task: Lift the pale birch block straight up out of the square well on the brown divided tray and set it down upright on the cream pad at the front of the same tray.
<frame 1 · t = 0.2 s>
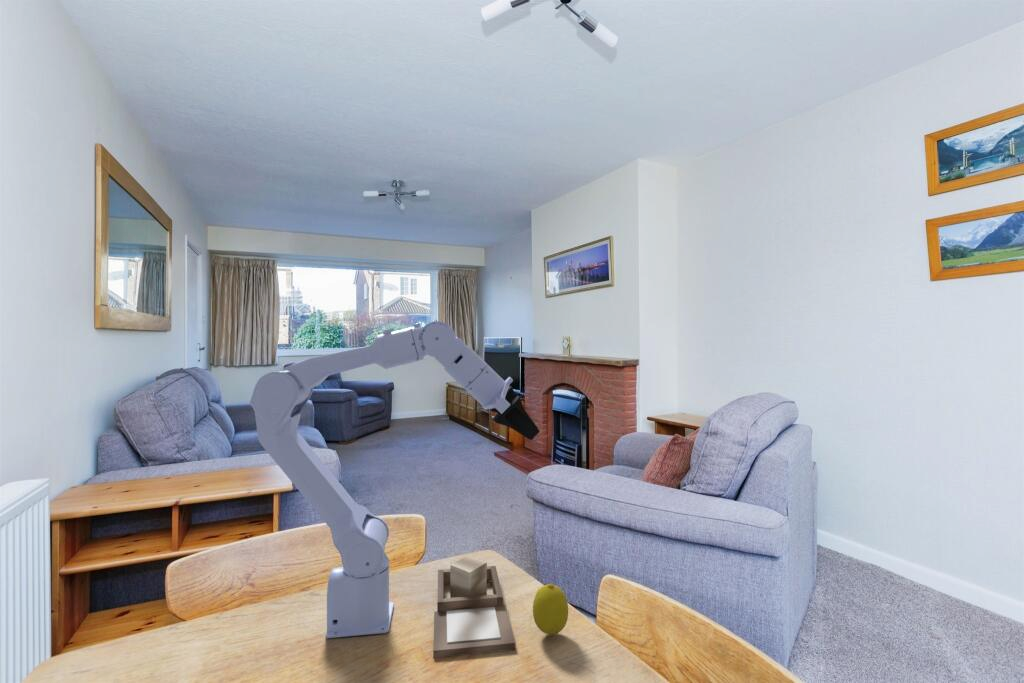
hand: (531, 429, 80), 31 cm above the table, tool tilted 45°, fingers open, 7 cm apart
lemon: (550, 636, 72), on the table
brown divided tray: (470, 612, 78), on the table
block: (468, 597, 83), resting in brown divided tray
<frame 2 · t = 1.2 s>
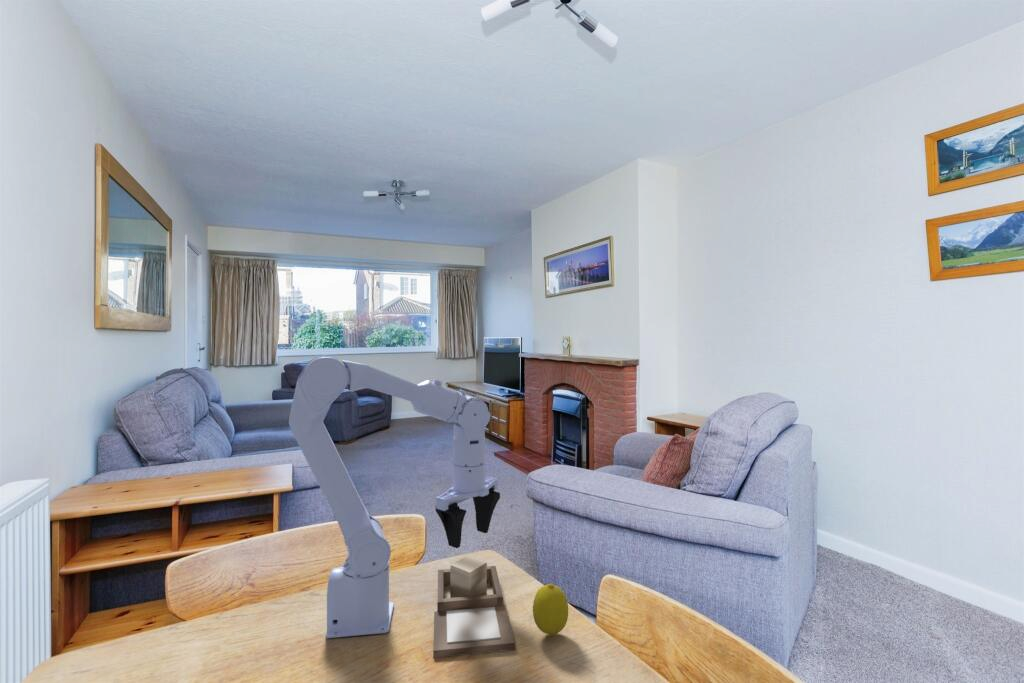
hand: (468, 538, 83), 10 cm above the table, tool pointing down, fingers open, 7 cm apart
nothing on the table moved.
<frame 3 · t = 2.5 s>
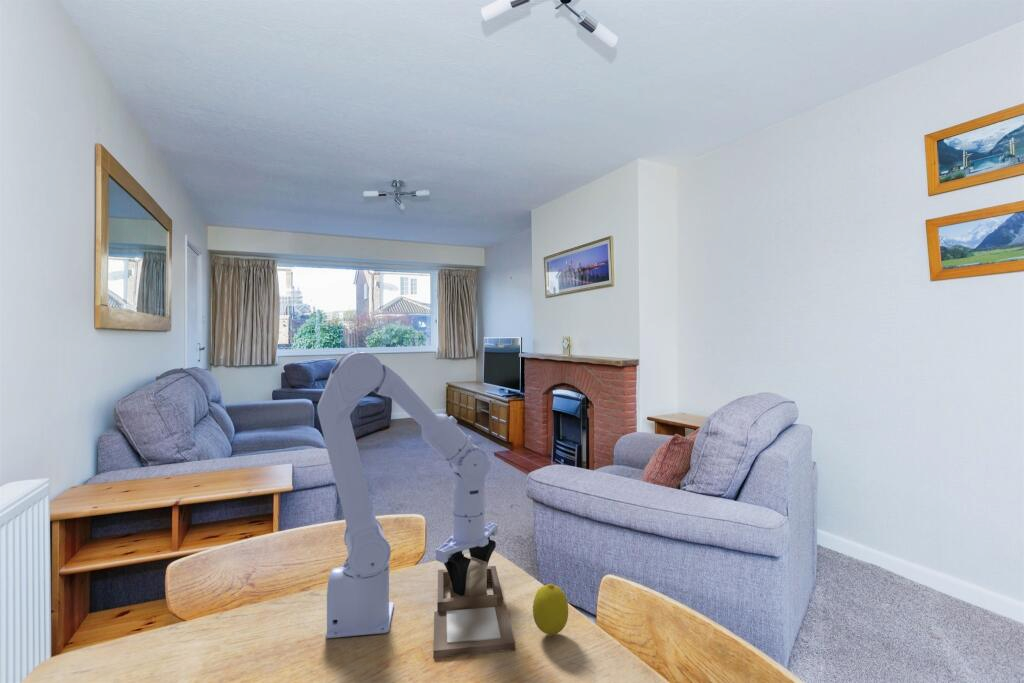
hand: (468, 587, 83), 2 cm above the table, tool pointing down, fingers closed on block, 5 cm apart
block: (468, 596, 83), resting in brown divided tray, touching gripper
everything else where it was.
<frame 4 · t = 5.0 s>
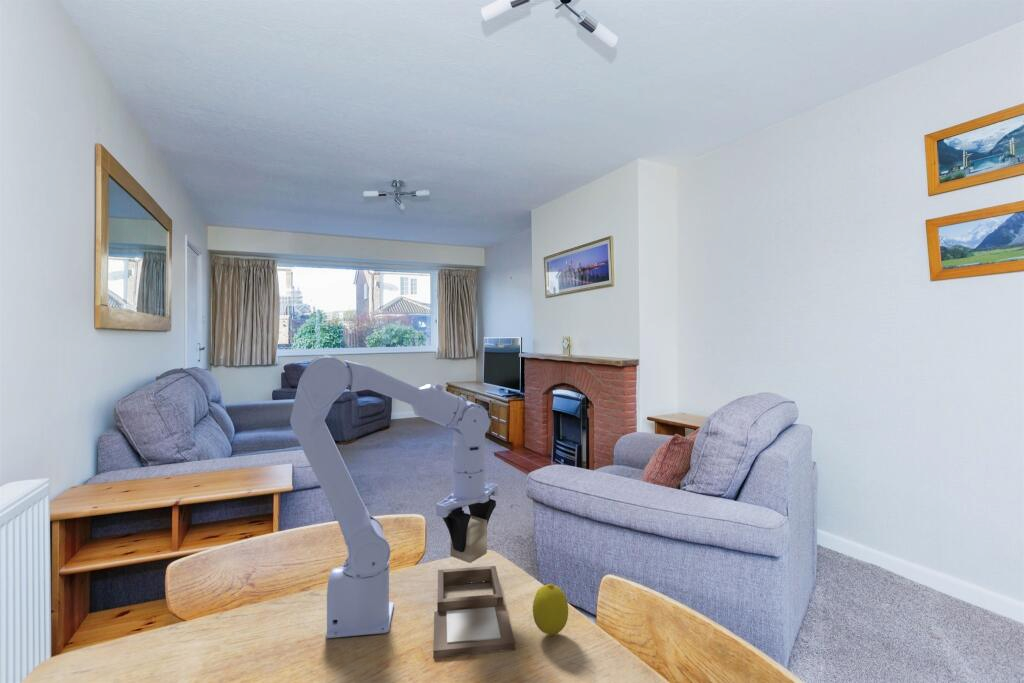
hand: (468, 545, 82), 9 cm above the table, tool pointing down, fingers closed on block, 5 cm apart
block: (468, 554, 82), point 8 cm above the table, touching gripper
everything else where it was.
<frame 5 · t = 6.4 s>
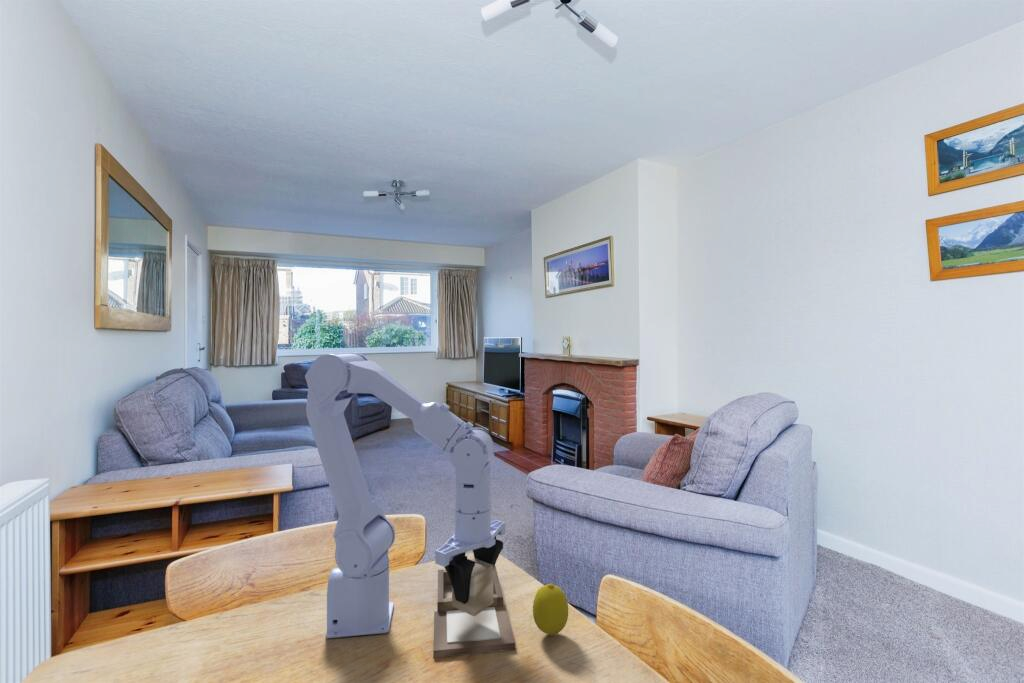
hand: (472, 593, 73), 6 cm above the table, tool pointing down, fingers closed on block, 5 cm apart
block: (472, 604, 73), point 4 cm above the table, touching gripper
everything else where it was.
when the fingers open (4 cm above the table, at t = 7.2 s): block stays where it is, resting on brown divided tray.
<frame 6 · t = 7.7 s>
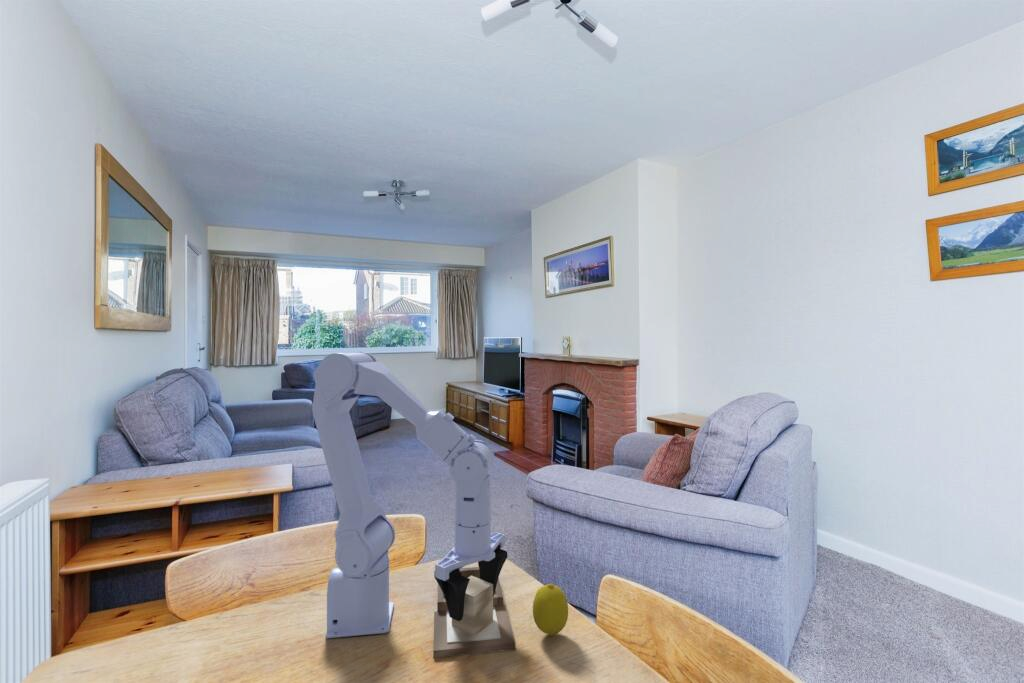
hand: (472, 606, 73), 4 cm above the table, tool pointing down, fingers open, 7 cm apart
block: (472, 623, 73), point 1 cm above the table, touching brown divided tray
everything else where it was.
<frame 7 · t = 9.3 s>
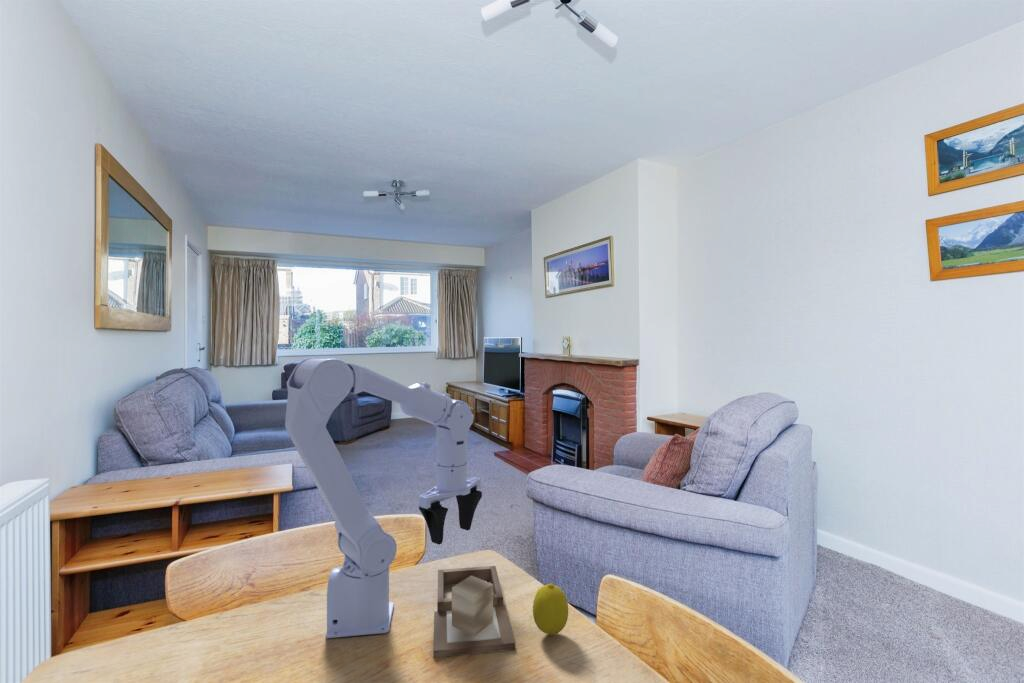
hand: (451, 535, 86), 9 cm above the table, tool pointing down, fingers open, 7 cm apart
nothing on the table moved.
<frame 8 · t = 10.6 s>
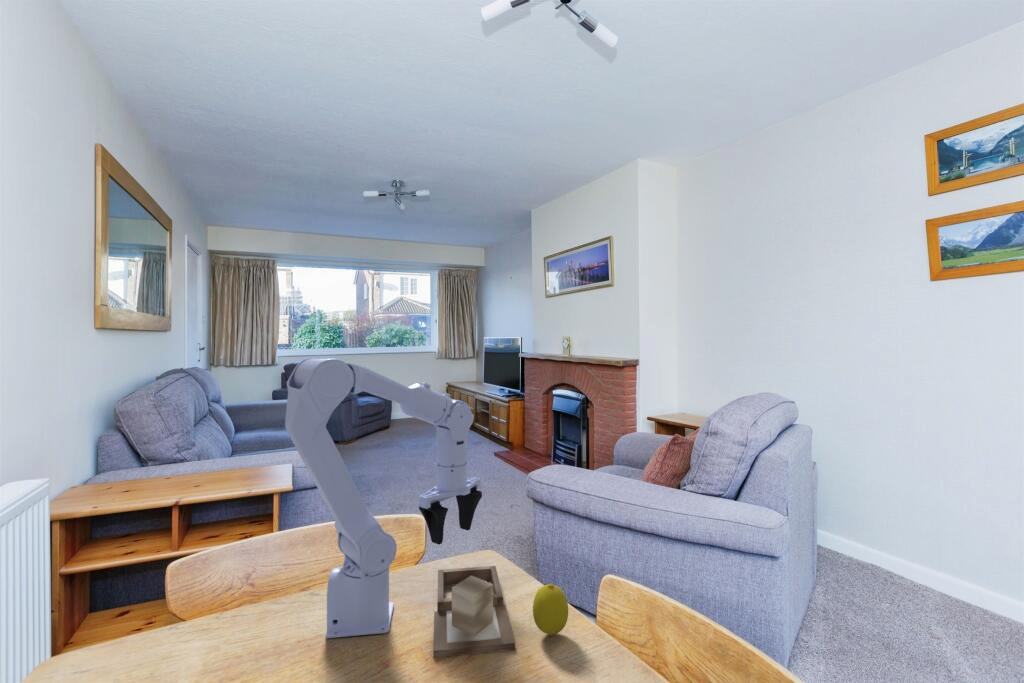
hand: (451, 535, 86), 9 cm above the table, tool pointing down, fingers open, 7 cm apart
nothing on the table moved.
at the end: block inside the target area (0.0 cm from its centre), point 1.2 cm above the table; block tilted 0°; the gripper is holding nothing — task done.
